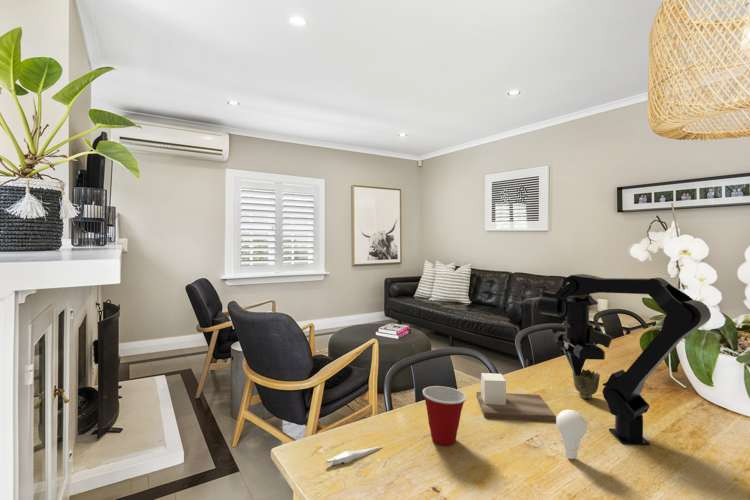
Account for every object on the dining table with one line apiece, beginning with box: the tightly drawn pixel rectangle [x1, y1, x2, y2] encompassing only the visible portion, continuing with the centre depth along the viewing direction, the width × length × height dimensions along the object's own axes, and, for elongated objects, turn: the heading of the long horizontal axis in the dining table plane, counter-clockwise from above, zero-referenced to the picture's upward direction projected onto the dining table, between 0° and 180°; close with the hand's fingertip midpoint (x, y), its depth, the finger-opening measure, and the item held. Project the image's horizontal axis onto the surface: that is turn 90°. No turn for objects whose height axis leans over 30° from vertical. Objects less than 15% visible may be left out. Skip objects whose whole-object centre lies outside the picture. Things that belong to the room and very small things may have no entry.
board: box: [476, 391, 557, 422], centre depth 111 cm, size 14×19×2 cm
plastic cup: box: [422, 385, 468, 447], centre depth 93 cm, size 11×11×12 cm
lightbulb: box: [555, 409, 588, 460], centre depth 85 cm, size 6×6×11 cm
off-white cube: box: [480, 372, 507, 405], centre depth 113 cm, size 6×6×7 cm
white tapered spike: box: [325, 446, 384, 468], centre depth 86 cm, size 15×3×2 cm, turn 121°
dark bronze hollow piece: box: [572, 368, 601, 400], centre depth 118 cm, size 8×7×8 cm
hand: (577, 375), depth 104 cm, fingers closed
